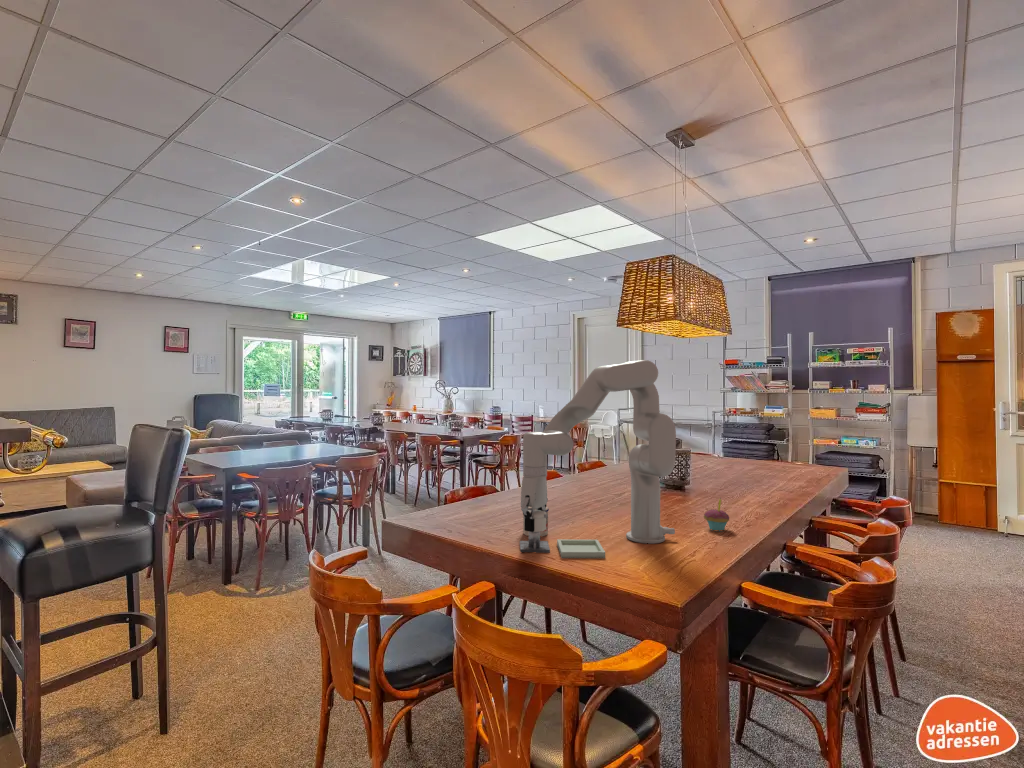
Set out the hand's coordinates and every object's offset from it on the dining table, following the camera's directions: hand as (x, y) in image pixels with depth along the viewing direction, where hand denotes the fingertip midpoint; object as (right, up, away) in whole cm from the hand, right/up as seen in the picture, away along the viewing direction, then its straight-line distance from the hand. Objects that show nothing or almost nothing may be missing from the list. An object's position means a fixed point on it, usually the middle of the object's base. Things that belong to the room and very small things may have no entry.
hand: (535, 527), depth 161 cm
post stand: (0, -6, 0) cm, 6 cm away
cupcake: (+67, -8, +24) cm, 71 cm away
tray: (+14, -6, -3) cm, 16 cm away
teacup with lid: (+2, -7, +18) cm, 19 cm away
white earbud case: (0, 0, 0) cm, 0 cm away
